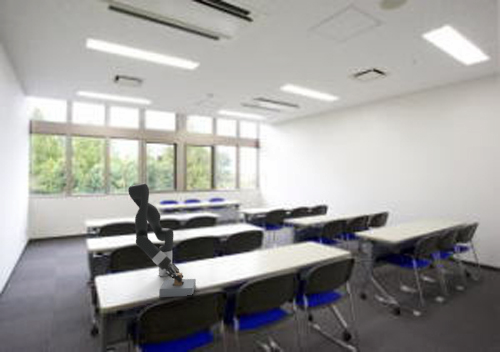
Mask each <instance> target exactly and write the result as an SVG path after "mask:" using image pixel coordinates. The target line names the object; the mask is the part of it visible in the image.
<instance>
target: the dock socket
mask: <svg viewBox="0 0 500 352" xmlns="http://www.w3.org/2000/svg"><path fill="white" fill-rule="evenodd" d="M196 280H197V279H196V278H185V279H184V278H182V285H181V286H174V279H164V282H163V283H162V284H161V286H160V287H159V293H158V294H159V295H158V296H159V298H165V297H170V298H171V297H188V296H187V295H192V294H193V295H194V292H195V289H196V286H197V285H196Z"/></svg>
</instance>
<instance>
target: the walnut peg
mask: <svg viewBox="0 0 500 352" xmlns="http://www.w3.org/2000/svg"><path fill="white" fill-rule="evenodd" d="M176 274H177V275H178V276H179V277H180V278H181V279H183V278H182V275H183V272H180V273H176ZM173 280H174V286H181V285H182V280H181V281H180V282H178V281H177V280H176V279H174V278H173Z"/></svg>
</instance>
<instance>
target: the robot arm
mask: <svg viewBox="0 0 500 352" xmlns="http://www.w3.org/2000/svg"><path fill="white" fill-rule="evenodd" d="M128 195H129V197H130V198H131V199H132V201H133V202H134V204H136V206H137V207H138V210H137V212H136V214H135V219H134V225H135V244H136V246H137V247H138V248H140V250H142V251H143V252H144V253H145V254H146V255H147V256H148V257H149V258H150V260H152V262H153V263H154V264H156V266H157V267H158V276H160V277H170V278H171V280H174V279H176V280H177V281H178V282H180V281H181V280H182V279H184V275H183V274H182V279H181V278H180V277H179V276H178V275H177V274H176V273H181V272H180V269H179V268H178V267H177V266H176V264H175V263H173V247H174V246H173V245H174V234H175V233H174V230H173V229H172V228H168V227H167V228H164V227H162V225H161V223H160V221H161V214H160V211H159V210H158V208H157V207H156V206H155V205H153V204H152V203H150V202H149V199H150V189H149V186H148V184H146V183H145V182H143V183H138V184H134V185H130V186H129V187H128ZM148 225H150V227H151V229H152V231H153V232H154V236H155V237H156V239H157V240H158V241H161V242H164V244H163V245H161V246H159V248H158V246H156V245H155V244H154V243H153V242H152V241H151V239H149V235H148V233H149V232H148Z"/></svg>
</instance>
